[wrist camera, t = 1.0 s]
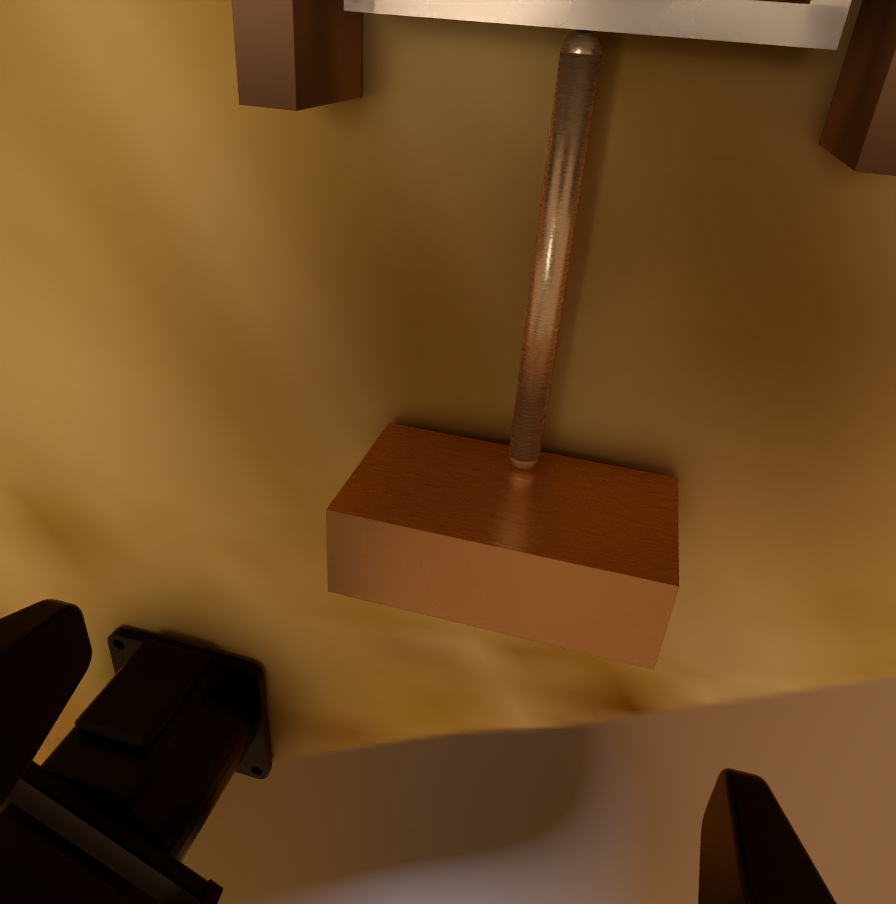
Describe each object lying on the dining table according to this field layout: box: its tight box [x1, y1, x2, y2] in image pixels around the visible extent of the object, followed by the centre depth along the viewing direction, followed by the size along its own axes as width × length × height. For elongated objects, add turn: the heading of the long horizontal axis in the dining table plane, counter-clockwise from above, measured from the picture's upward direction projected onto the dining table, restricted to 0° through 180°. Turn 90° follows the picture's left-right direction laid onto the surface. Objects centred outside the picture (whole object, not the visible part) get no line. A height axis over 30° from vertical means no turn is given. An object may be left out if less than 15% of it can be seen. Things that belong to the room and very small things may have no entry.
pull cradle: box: [326, 0, 852, 670], centre depth 14 cm, size 21×9×4 cm, turn 176°
